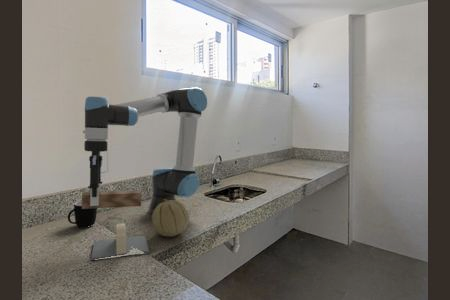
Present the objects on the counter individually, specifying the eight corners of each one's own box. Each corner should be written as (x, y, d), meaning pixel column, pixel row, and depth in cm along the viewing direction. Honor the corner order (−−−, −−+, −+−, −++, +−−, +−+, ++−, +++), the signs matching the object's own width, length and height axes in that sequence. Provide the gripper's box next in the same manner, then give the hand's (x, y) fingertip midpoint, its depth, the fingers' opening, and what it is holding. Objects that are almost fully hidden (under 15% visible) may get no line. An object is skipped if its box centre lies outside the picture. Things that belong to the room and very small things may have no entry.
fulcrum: (144, 238, 105) (145, 220, 104) (149, 253, 92) (149, 233, 91) (94, 244, 98) (94, 225, 97) (91, 261, 85) (91, 240, 84)
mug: (89, 220, 122) (89, 199, 122) (101, 225, 117) (101, 202, 117) (62, 228, 112) (62, 204, 111) (73, 233, 107) (73, 208, 107)
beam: (140, 202, 105) (140, 190, 105) (140, 206, 101) (141, 193, 101) (83, 205, 98) (83, 191, 98) (81, 208, 93) (82, 194, 93)
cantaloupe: (189, 241, 103) (190, 203, 102) (150, 243, 100) (151, 204, 99) (187, 228, 117) (188, 194, 116) (152, 229, 114) (153, 195, 113)
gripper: (87, 139, 103) (87, 198, 104) (80, 140, 86) (79, 211, 87) (108, 139, 106) (107, 197, 107) (105, 141, 89) (104, 209, 90)
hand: (95, 203), depth 97 cm, fingers closed on beam, 5 cm apart
